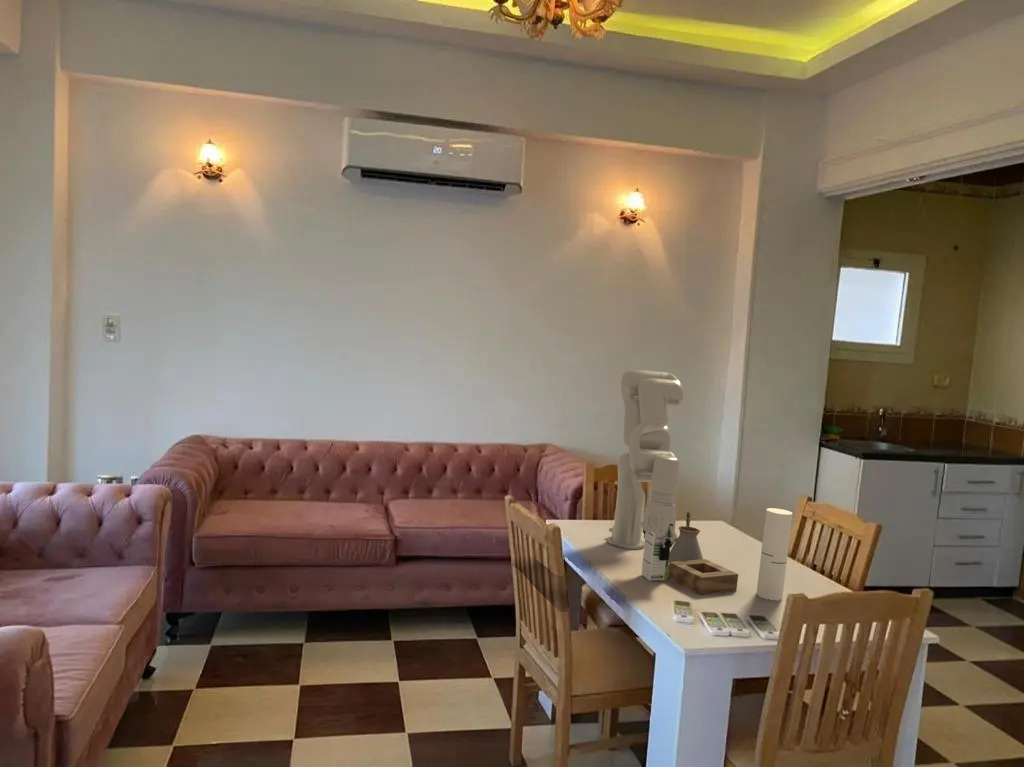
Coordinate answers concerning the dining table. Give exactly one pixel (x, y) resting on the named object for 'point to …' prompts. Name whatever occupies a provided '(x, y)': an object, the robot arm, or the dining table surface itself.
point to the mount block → (703, 576)
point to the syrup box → (653, 559)
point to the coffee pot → (686, 544)
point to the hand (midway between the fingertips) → (656, 555)
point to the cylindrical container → (774, 553)
